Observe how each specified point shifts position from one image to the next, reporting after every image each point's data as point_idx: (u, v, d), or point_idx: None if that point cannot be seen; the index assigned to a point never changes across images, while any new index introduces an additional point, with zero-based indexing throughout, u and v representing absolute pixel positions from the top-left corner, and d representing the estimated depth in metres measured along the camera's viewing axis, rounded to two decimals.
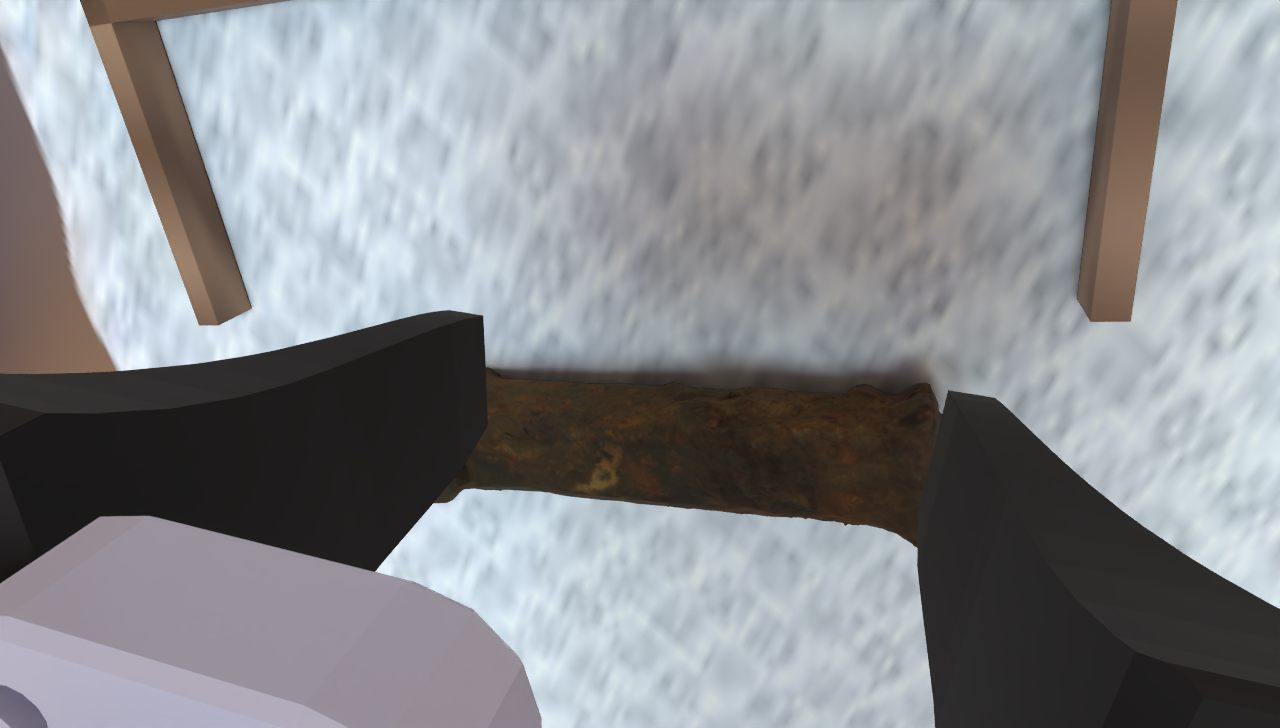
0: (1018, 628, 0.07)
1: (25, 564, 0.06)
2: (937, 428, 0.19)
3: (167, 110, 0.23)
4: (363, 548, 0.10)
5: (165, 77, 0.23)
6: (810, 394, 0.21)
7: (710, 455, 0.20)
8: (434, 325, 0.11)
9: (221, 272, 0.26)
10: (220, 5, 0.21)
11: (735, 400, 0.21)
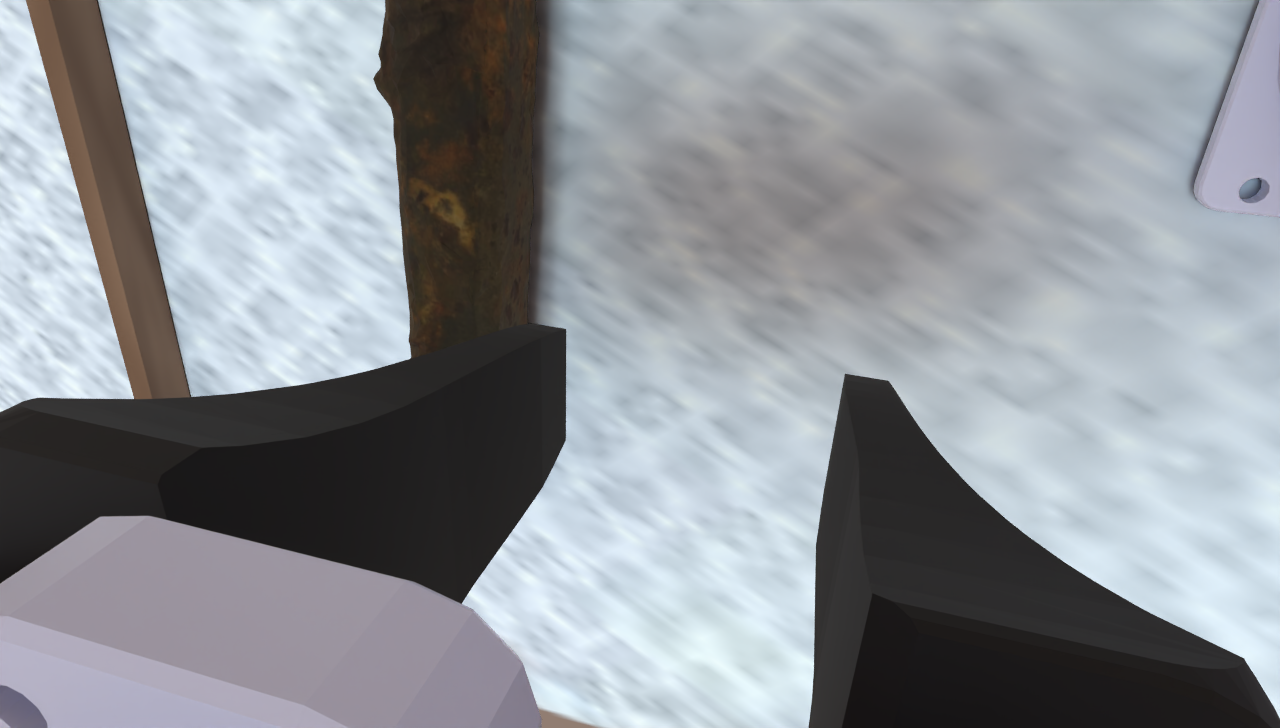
0: (846, 589, 0.07)
1: None
2: None
3: None
4: (458, 571, 0.10)
5: None
6: None
7: (400, 70, 0.18)
8: (523, 340, 0.11)
9: None
10: None
11: None
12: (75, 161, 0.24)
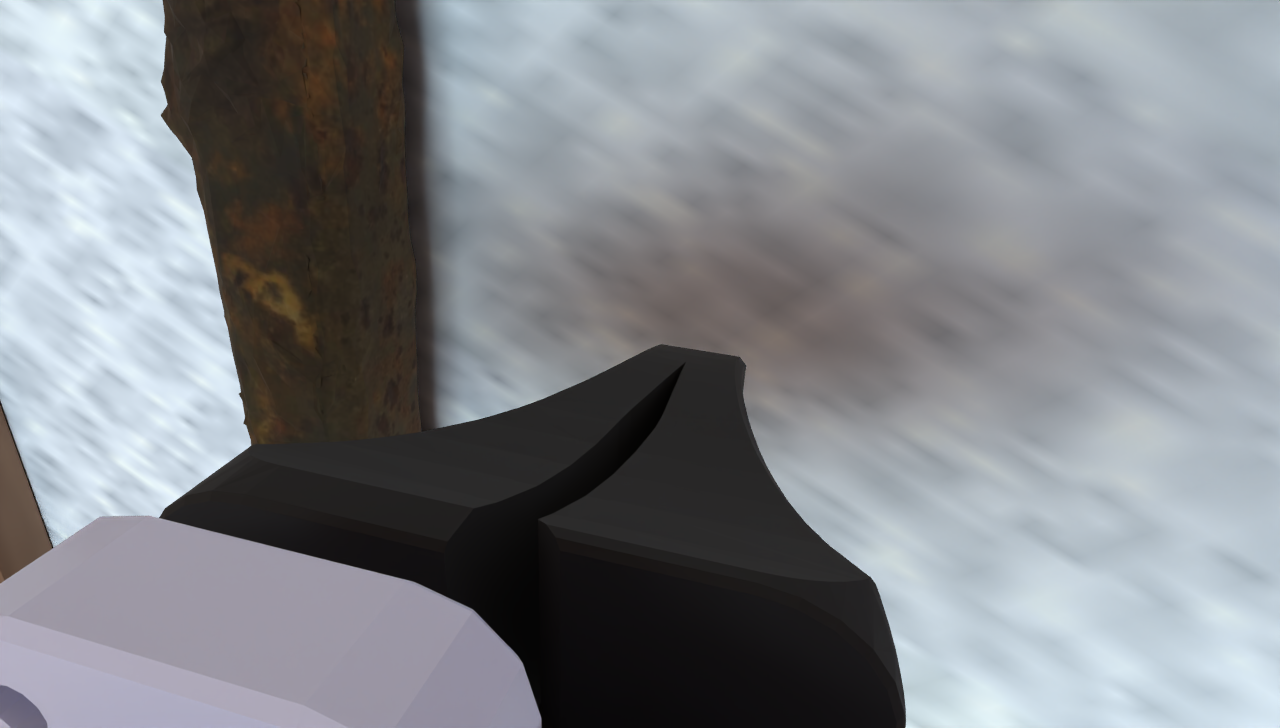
0: None
1: None
2: None
3: None
4: None
5: None
6: None
7: (188, 104, 0.12)
8: (668, 364, 0.11)
9: None
10: None
11: None
12: None
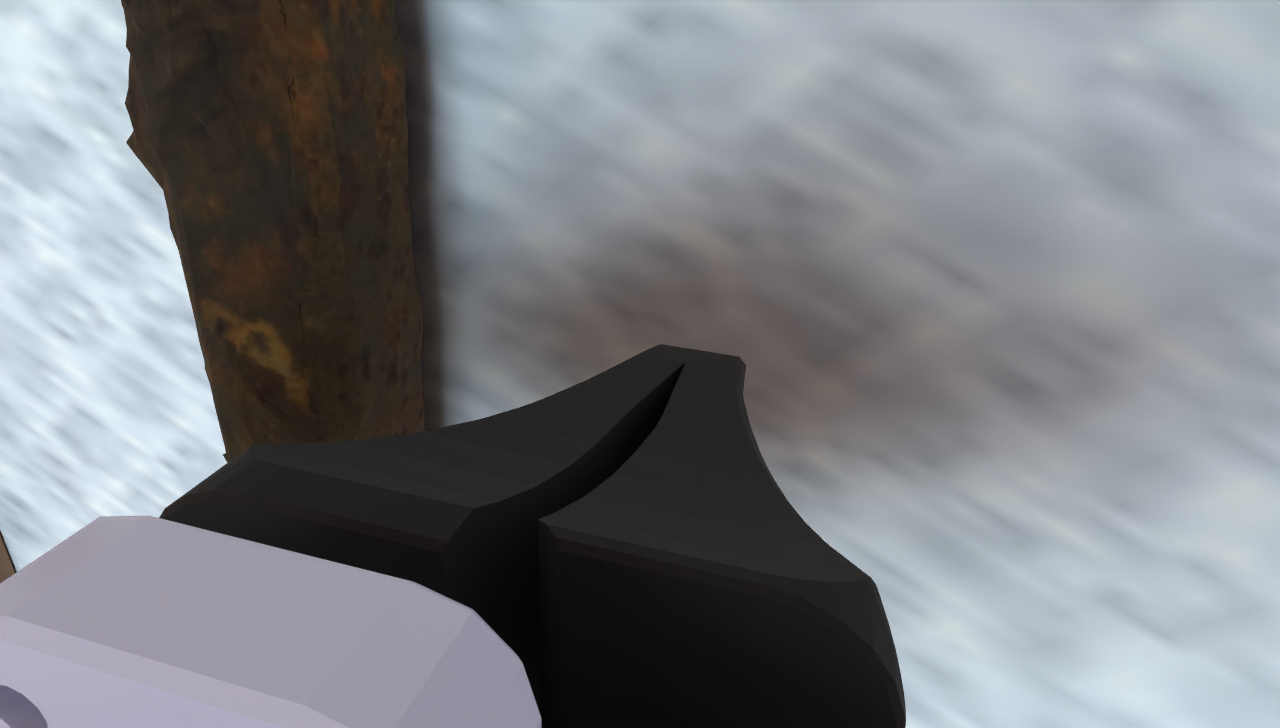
0: None
1: None
2: None
3: None
4: None
5: None
6: None
7: (156, 130, 0.10)
8: (668, 364, 0.11)
9: None
10: None
11: None
12: None
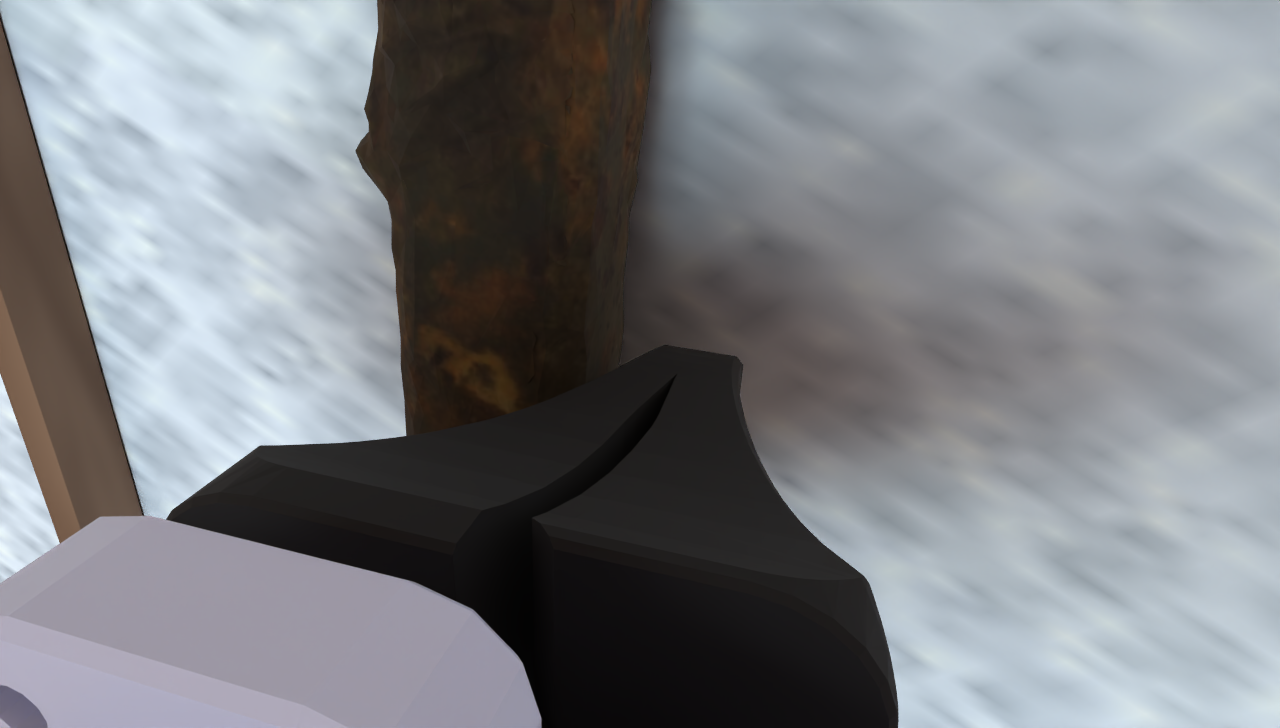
0: None
1: None
2: None
3: None
4: None
5: None
6: None
7: (404, 141, 0.09)
8: (672, 364, 0.11)
9: None
10: None
11: None
12: None
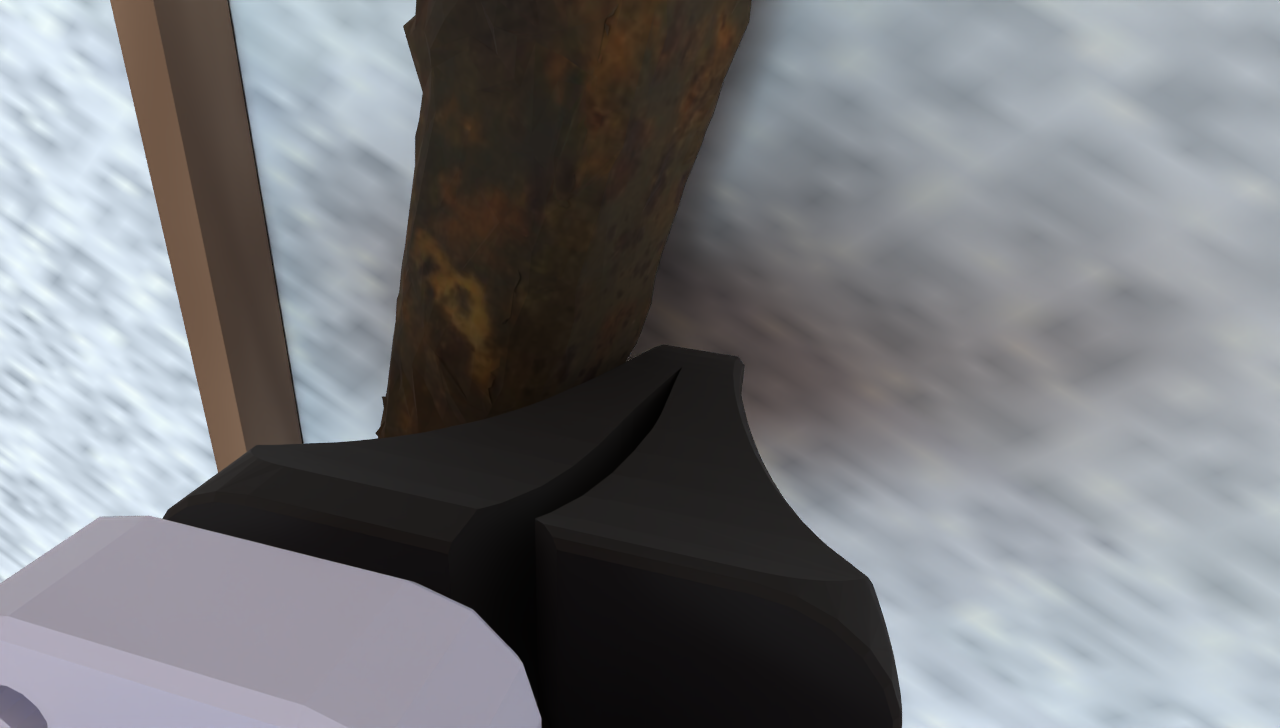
0: None
1: None
2: None
3: None
4: None
5: None
6: None
7: (438, 23, 0.08)
8: (670, 364, 0.11)
9: None
10: None
11: None
12: (191, 313, 0.14)
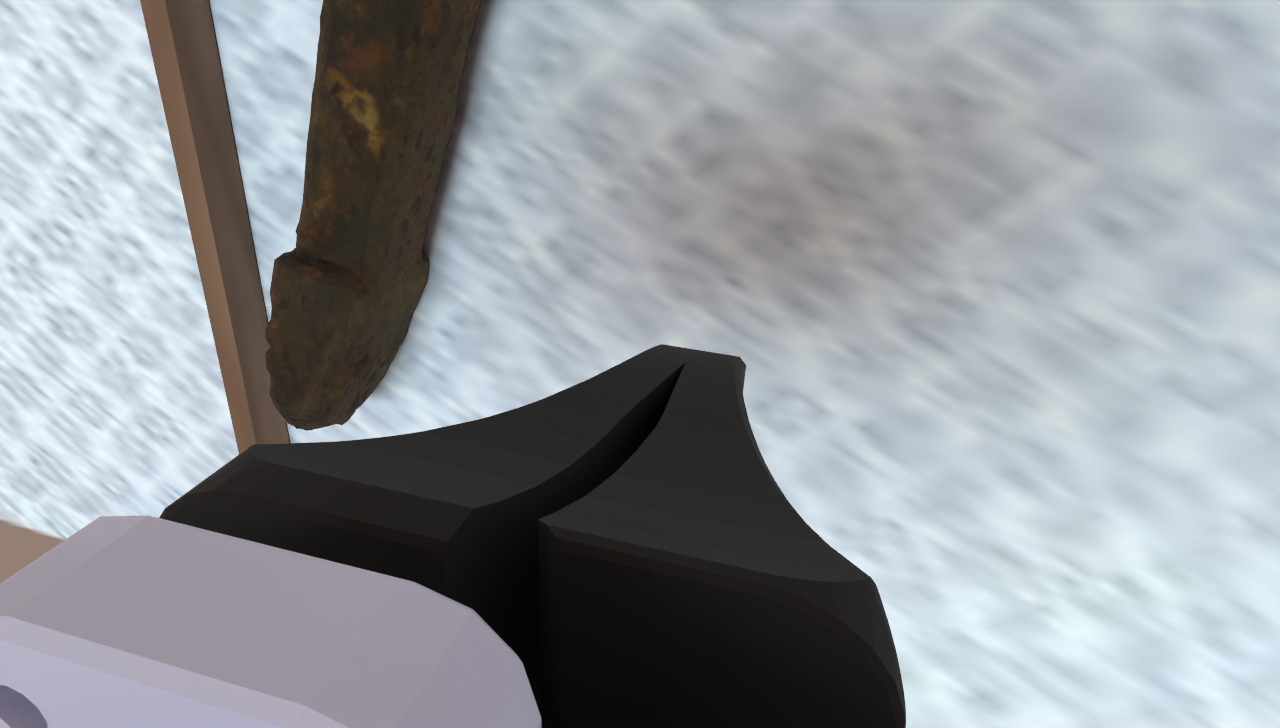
0: None
1: None
2: None
3: None
4: None
5: None
6: None
7: None
8: (668, 364, 0.11)
9: None
10: (253, 429, 0.26)
11: None
12: (180, 157, 0.22)
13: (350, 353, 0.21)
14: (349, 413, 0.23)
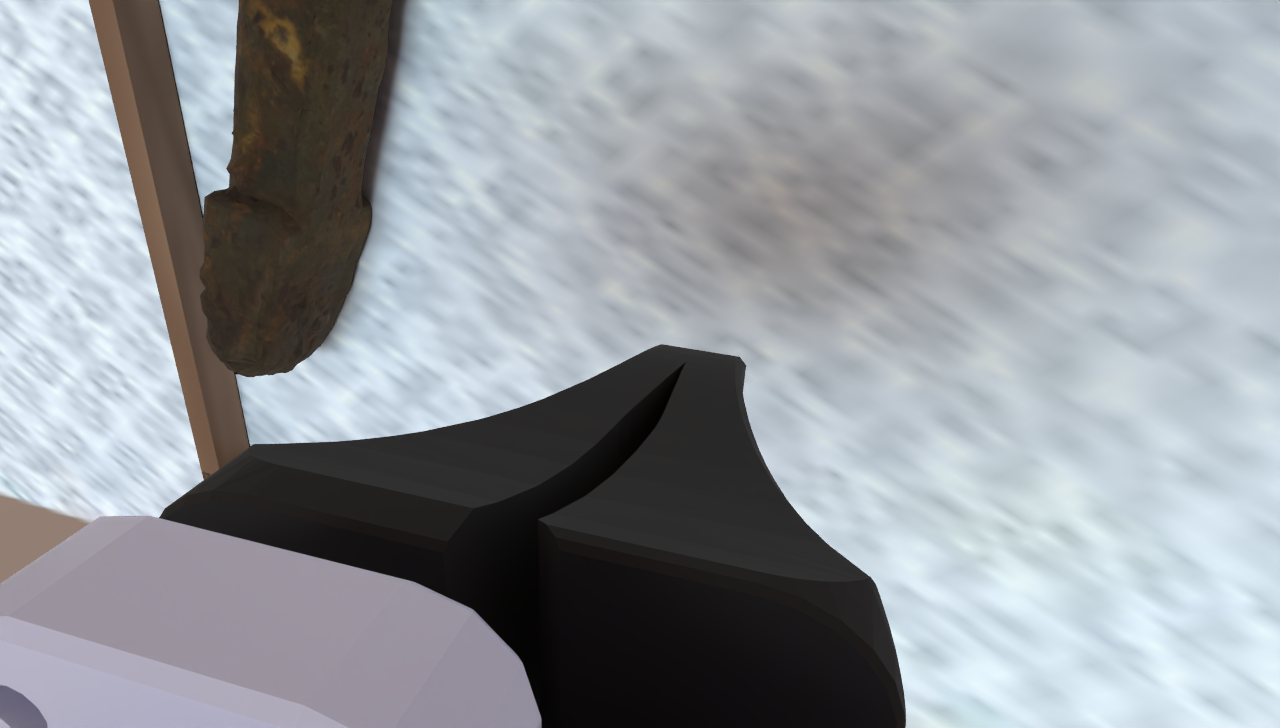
0: None
1: None
2: None
3: None
4: None
5: None
6: None
7: None
8: (668, 364, 0.11)
9: None
10: (198, 380, 0.26)
11: None
12: (118, 98, 0.22)
13: (285, 294, 0.21)
14: (292, 361, 0.23)
